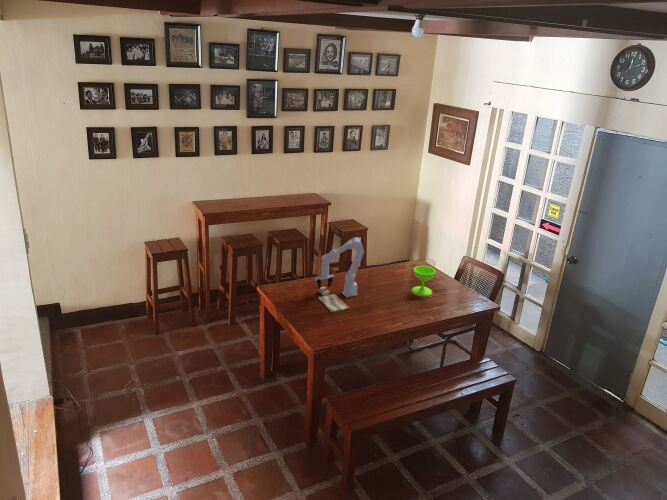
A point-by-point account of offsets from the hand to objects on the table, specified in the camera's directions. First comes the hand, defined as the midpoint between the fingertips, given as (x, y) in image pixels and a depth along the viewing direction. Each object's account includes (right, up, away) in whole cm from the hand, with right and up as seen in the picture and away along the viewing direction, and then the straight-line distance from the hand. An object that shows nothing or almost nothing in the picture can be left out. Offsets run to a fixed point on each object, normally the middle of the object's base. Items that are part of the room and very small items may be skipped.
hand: (324, 287), depth 389 cm
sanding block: (0, -5, +2) cm, 5 cm away
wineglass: (+74, -4, +13) cm, 76 cm away
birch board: (+7, -10, -11) cm, 17 cm away
